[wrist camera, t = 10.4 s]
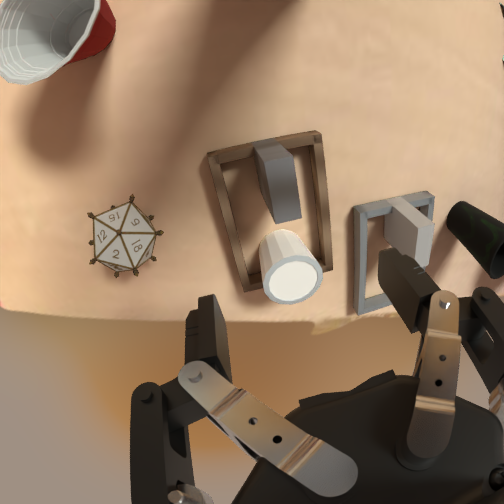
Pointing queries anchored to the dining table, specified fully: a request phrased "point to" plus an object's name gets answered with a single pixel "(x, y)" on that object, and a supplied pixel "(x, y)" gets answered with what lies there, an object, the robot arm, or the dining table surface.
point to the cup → (479, 236)
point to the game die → (123, 238)
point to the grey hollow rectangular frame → (392, 238)
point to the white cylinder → (288, 268)
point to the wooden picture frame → (276, 191)
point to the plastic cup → (50, 35)
